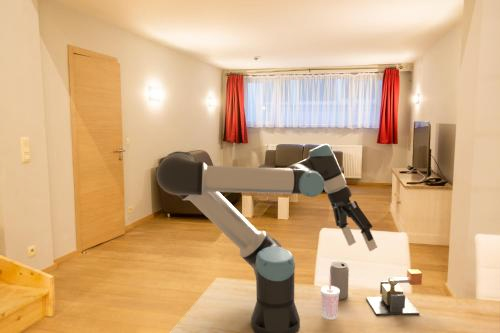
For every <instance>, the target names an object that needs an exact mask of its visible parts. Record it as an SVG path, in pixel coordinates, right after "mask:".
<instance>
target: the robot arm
mask: <svg viewBox="0 0 500 333" xmlns="http://www.w3.org/2000/svg"><path fill="white" fill-rule="evenodd" d="M156 181H157V183H158V186H160V188H161V189H162V190H163V191H164V192H166V193H168V194H170V195H176V196H178V197H179V198H180V200H182V201H190V202H191V203H192V204H193V205H194V206H195V207H196V208H197V209H198V210H199V211H200V212H201V213H202V214H203V215H204V216H205V217H206V218H208V220H210V222H211V223H213V224H214V225H215V226H216V227H217V229H219V230H220V231H221V232H222V233H223V234H224V235H225V236H226V237H227V238H228V239H229V240H230V241H231V242H232V243H233V244H235V246H236V247H238V248H239V251H240V253H239V255H240V257H241V258H242V259H243V260H244V261H245V262H246V263H247V264H249V266H250V267H251V268H252V269H253V272H254V276H255V280H256V283H255V284H256V285H255V286H256V288H255V289H256V302H255V305H254V308H253V311H252V314H251V318H250V319H251V320H250V324H251V326H250V327H251V328H252V330H253V332H254V333H298V332H299V330H300V328H301V327H300V326H301V319H300V315H299V312H298V309H297V307H296V306H297V305H296V303H295V269H296V262H295V257H294V255H293V253H292V252H291V251H290V250H288V249H284V248H283V247H282V245H281V244H280V242H279V241H278V240H277V239H275V237H274V238H273V237H272V236H270V234H268V233H267V232H266V230H263V229H262V230H261V229H260V230H258V228H256V227H255V226H254V225H253V224H252V223H251V222H250V221H249V220H248V219H247V218H246V217H245V216H244V215H243V214H242V213H241V212H240V211H239V210H238V209H237V208H236V207H235V206H234V205H233V204H232V203H231V202H230V201H229V200H228V199H227V198H226V197H225V196H223V194H222V193H243V194H244V193H245V194H246V193H247V194H249V193H250V194H288V195H289V194H291V195H292V194H293V195H303V196H306V197H308V198H315V197H317V196H320V194H321V193H322V192H323V191H325V193H327V194H326V196H327V198H328V201H329V202H330V205H331V208H332V212H333V216H334V220H335V224H336V227H339V229H341V231H342V234H343V236H344V238H345V241H346V243H347V245H348V246H352V245H354V244H356V243H357V241H356V239H355V237H354V235H353V233H352V230H351V228H350V226H349V223H348V220H347V218H349V219H351V220H352V221H353V222H354V223H355V225H356V226H357V227H358V228H359V229H360V234H362V238H363V240H364V242H365V244H366V247H367V249H368V251H369V252H372V251H373V250H375V249H377V248H378V245H377V244H376V241H375V239H374V236H373V234H372V231H371V230H370V229H373V227H374V226H373V225H372V223H371V221H370V220H369V219H368V218H367V216H366V215H365V213H364V212H363V210H362V209H361V208H360V206H359V205H358V202H357V201H356V200H353V201H351V200H350V197H352V194H353V193H352V192H351V190H350V187H349V186H348V185H347V180H346V178H345V175H344V173H343V172H342V170H341V168H340V165H339V163H338V159H337V158H336V154H335V153H334V152H333V149H332V147H331V145H329V144H328V143H324V144H320V145H318V146H317V147H314V148H312V149H310V150H309V151H308V157H307V158H305V159H303V160H301V161H299V162H296V163H293V164H292V165H289V166H286V167H283V168H281V167H277V168H276V167H255V166H254V167H253V166H251V167H250V166H226V165H225V166H224V165H208V164H206V163H205V162H204V161H196V159H195V157H194V156H193V155H191V154H190V153H188V152H186V151H182V150H181V151H180V150H179V151H177V150H176V151H173V152H171V153H169V154H168V155H166V156H165V157H164V158H163V159H162V160H161V162H160V163H159V165H158V167H157V169H156Z"/></svg>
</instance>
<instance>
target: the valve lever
mask: <svg viewBox="0 0 500 333" xmlns="http://www.w3.org/2000/svg"><path fill="white" fill-rule="evenodd" d="M387 281H388V284H389V285H391V286H396V285H397V284H401V283H402V284H404V283H405V284H407V283H408V284H409V286H410V285H411V286H417V285H418V286H419V285H422V284H423V283H422V282H423V272H421V270H419V269H407V272H406V277H390V278H388V280H387Z"/></svg>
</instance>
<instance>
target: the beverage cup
mask: <svg viewBox="0 0 500 333" xmlns="http://www.w3.org/2000/svg"><path fill="white" fill-rule="evenodd" d="M320 293H321V308H322V309H321V310H322V317H323V318H324V319H326V320H330V321H331V320H336V319H337V318H338V309H339V308H338V307H339V294H340V290H339V288H337V287H335V286H331V275H330V274H329V285H323V286H322V287H321V288H320Z"/></svg>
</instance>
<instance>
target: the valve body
mask: <svg viewBox="0 0 500 333" xmlns="http://www.w3.org/2000/svg"><path fill="white" fill-rule="evenodd" d="M379 286H380V287H379V289H380V290H379V294H380V295H381V296H365V299H366V301H367V303H368V305H369V307H370V309H371V310H372V312H373V313H374V314H375V316H376V317H383V316H384V317H385V316H386V317H387V316H388V317H389V316H391V317H394V316H420V313H421V312H420V311H419V310H418V309H417V308H416V306H415V305H414V304H413V303H412V302H411V301H410V300H409V299H408V297H407V296H406V295H405V294H404V290H403V289H402V288H401V287H400V285H399V283H397V285H396V286H391V285H389V284H388V280H385V281H384V280H383V281H382V280H381V281H380V284H379Z"/></svg>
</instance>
